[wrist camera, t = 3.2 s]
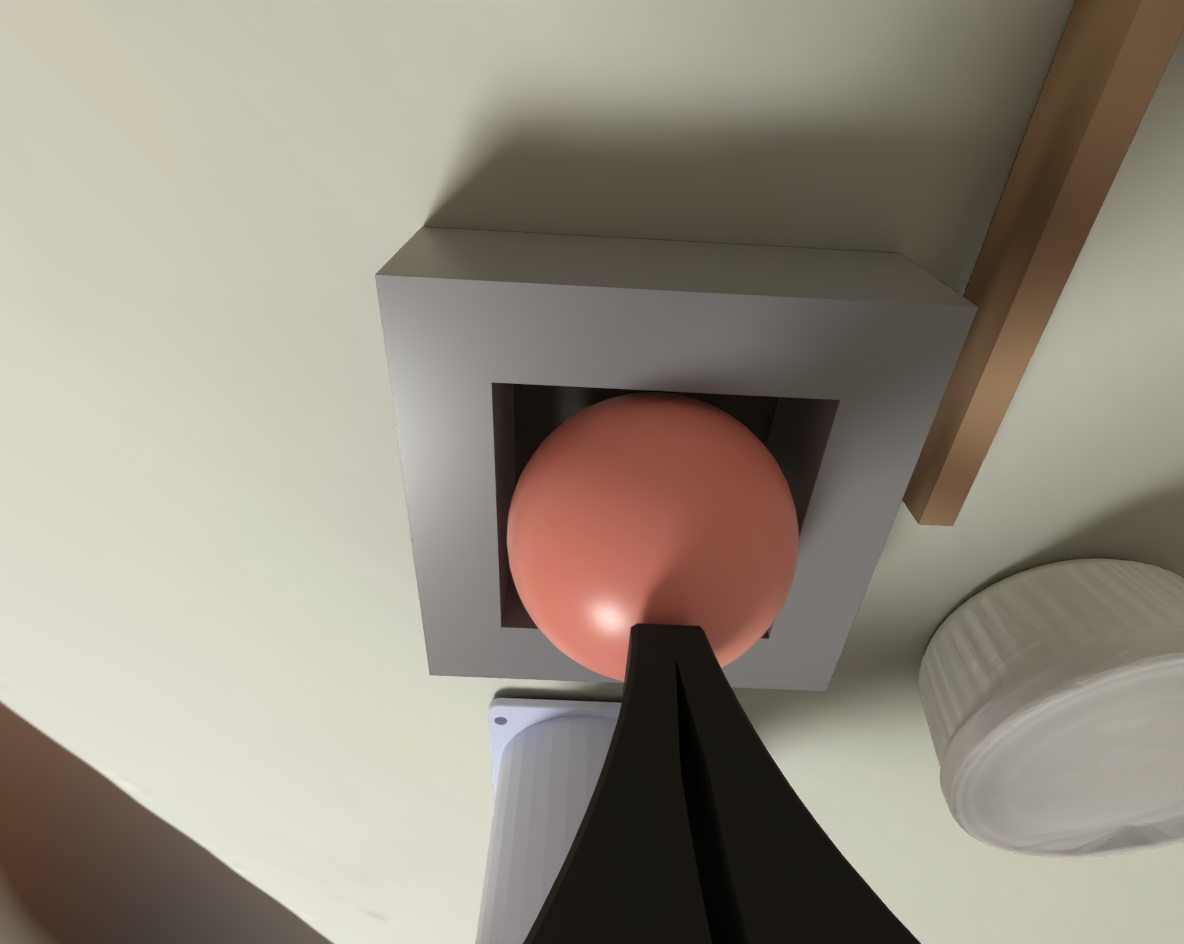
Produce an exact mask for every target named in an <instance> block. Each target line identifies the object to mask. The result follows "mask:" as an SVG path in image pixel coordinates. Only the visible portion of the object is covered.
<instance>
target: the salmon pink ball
mask: <svg viewBox="0 0 1184 944" xmlns="http://www.w3.org/2000/svg"><path fill="white" fill-rule="evenodd" d="M507 548H508V557H509V565H510V570H511V573H512V577H513V580H514V583H515V586H516V589H517V592H518V595H519V597H520V599H521V601H522V603H523V605H524V607H525V609H526V610H527V612H528V614H529V615H530V617H531V618H532V620H533V621H534V623H535V624H536V626H537V627H538V628H539V629H540V631H541V632H542V633H543V634H544V635H545V636H546V637H547V638H548V639H549V640H550V641H551V643H552V644H553V645H554V646H555V647H557V648H558V649H559V650H560V651H561V652H563V653H564V654H565V655H567V656H568V657H570V658H571V659H573V660H574V661H576V662H577V663H579V664H580V665H582V666H583V667H585V668H587V669H589V670H591V671H593V672H596V673H598V674H601V675H604V676H606V677H610V678H613V679H617V680H620V681H624V679H625V671H626V662H627V654H628V646H629V638H630V629H631V627H632V626H634V625H635V624H637V623H643V624H666V625H689V626H700V627H701V628H702V629H703V630H704V631H705V633H706V636H707V638H708V641H709V643H710V645H711V647H712V650H713V652H714V654H715V656H716V658H717V660H718V662H719V665H720V667H721V668H722V667H724V666H726V665H728V664H729V663H731V662H733V661H734V660H736V659H737V658H739V657H740V656H741V655H743V654H744V653H745V652H747V651H748V650H749V649H750V648H751V647H752V646H753V645H754V644H755V643H756V642H757V641H758V640H759V639H760V638H761V637H762V636H763V635H764V634H765V633H766V631H767V630H768V629H769V627H770V626H771V625H772V623H773V622H774V620H775V619H776V617H777V615H778V614H779V612H780V610H781V609H782V607H783V605H784V603H785V601H786V598H787V596H788V593H789V591H790V588H791V585H792V582H793V579H794V575H795V571H796V566H797V559H798V549H799V531H798V521H797V514H796V508H795V505H794V502H793V498H792V495H791V492H790V489H789V486H788V483H787V481H786V479H785V477H784V475H783V473H782V471H781V469H780V467H779V466H778V464H777V462H776V460H775V458H774V457H773V456H772V454H771V453H770V452H769V450H768V449H767V448H766V446H765V445H764V444H763V443H762V442H761V441H760V440H759V439H758V438H757V437H756V436H755V435H754V434H753V433H752V432H751V431H750V430H749V429H748V428H747V427H746V426H745V425H743V424H742V423H741V422H739V421H738V420H736V419H735V418H734V417H732V416H731V415H729V414H727V413H726V412H724V411H722V410H720V409H718V408H716V407H714V406H712V405H710V404H708V403H705V402H702V401H700V400H697V399H694V398H690V397H686V396H682V395H677V394H668V393H635V394H627V395H622V396H618V397H614V398H610V399H607V400H604V401H601V402H599V403H596V404H593V405H591V406H589V407H587V408H585V409H583V410H581V411H579V412H577V413H576V414H574V415H573V416H571V417H570V418H568V419H567V420H566V421H564V422H563V423H561V424H560V425H559V426H558V427H557V428H556V429H555V430H554V431H553V432H552V433H551V434H550V435H548V436H547V437H546V438H545V439H544V440H543V442H542V443H541V444H540V445H539V447H538V448H537V449H536V450H535V451H534V453H533V455H532V456H531V458H530V460H529V461H528V463H527V465H526V466H525V468H524V470H523V471H522V473H521V475H520V478H519V480H518V483H517V485H516V488H515V491H514V494H513V497H512V501H511V505H510V510H509V514H508V526H507Z"/></svg>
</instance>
